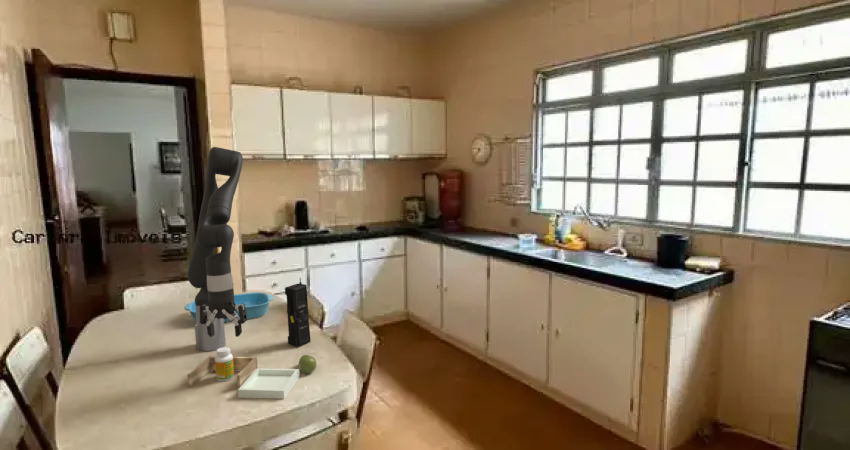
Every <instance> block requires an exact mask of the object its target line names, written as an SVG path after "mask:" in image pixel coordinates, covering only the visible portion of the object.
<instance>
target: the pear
mask: <svg viewBox="0 0 850 450" xmlns="http://www.w3.org/2000/svg"><path fill="white" fill-rule="evenodd" d="M298 366H299V370H300V371H302V373H305V374H311V373H313V372H314V371H315V370H316V368H317V360H316V358H315V357H314V356H313V355H309V354H303V355H302V356H301V357H300V358H299V360H298Z"/></svg>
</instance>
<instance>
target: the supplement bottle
mask: <svg viewBox="0 0 850 450" xmlns="http://www.w3.org/2000/svg"><path fill="white" fill-rule="evenodd" d="M215 357H216V358H215V368H216V370H215V379H216V381H218V382H226V381H230V380H232V379H233V378H234V376H235V371H234V365H233V357H234V356H233V354H232V353H231V349H230V347H227V346H224V347H222V348H219V349H217V350H216V356H215Z"/></svg>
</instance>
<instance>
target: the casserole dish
mask: <svg viewBox="0 0 850 450" xmlns="http://www.w3.org/2000/svg"><path fill="white" fill-rule="evenodd" d="M273 300H274V296H273V295H272V294H268V293H266V292H258V291H257V292H245V293H239V294H238V293H237V294H234V302H235V304H236V305H241V304H243V303H244V304H245V308H246V315H247V320H250V319H251V320H252V319H257V318H260V317H263V316H264V315H265V314H266V313H267V311H268V309H269V303H270V302H271V301H273ZM184 311H187V312H188V311H189V312H190V315H191V317H192V319H193V321H194V322H195V323H197V319H196V308H195V299H194V300H192V301H191V302H190V303H188V304H186V305H184ZM235 312H236V313H237V314H238V317H239V312H238V311H237V309H235ZM232 316H233V315H232ZM239 318H240V317H239ZM229 322H230V323H231V321H230V320H229V319H228V318H227V319H224V323H229Z"/></svg>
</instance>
